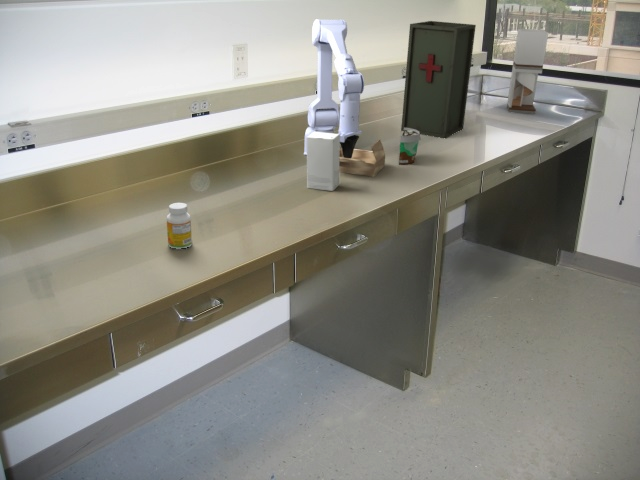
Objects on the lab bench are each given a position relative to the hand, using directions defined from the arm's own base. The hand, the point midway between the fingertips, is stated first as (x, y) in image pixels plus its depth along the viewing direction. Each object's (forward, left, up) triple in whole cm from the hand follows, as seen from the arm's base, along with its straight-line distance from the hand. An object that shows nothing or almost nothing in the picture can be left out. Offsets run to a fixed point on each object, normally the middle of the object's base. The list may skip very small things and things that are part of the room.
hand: (347, 159), depth 199 cm
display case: (+41, +127, -6) cm, 134 cm away
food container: (+14, +24, -6) cm, 28 cm away
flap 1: (0, +3, -1) cm, 3 cm away
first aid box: (+12, +71, -6) cm, 72 cm away
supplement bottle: (-18, -66, -6) cm, 69 cm away
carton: (0, +11, -5) cm, 12 cm away
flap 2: (+8, +9, -1) cm, 12 cm away
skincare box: (-3, -13, -6) cm, 14 cm away
